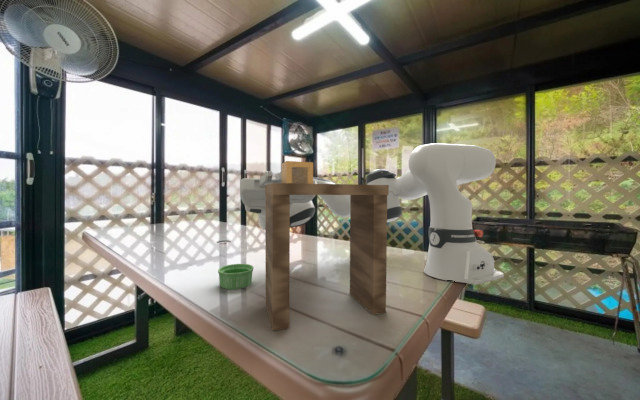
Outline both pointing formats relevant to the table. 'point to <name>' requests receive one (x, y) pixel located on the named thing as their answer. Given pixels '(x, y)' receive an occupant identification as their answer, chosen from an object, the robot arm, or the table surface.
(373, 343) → the table surface
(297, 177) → the recessed wooden block
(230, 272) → the ramekin
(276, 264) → the shelf
